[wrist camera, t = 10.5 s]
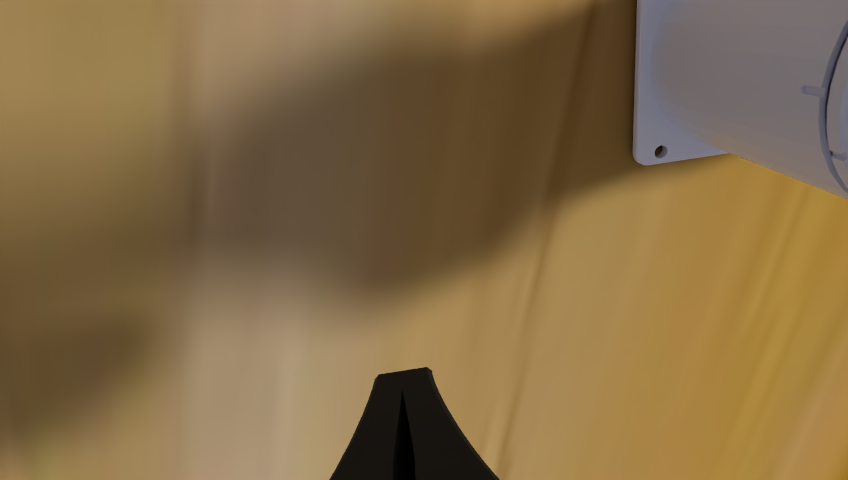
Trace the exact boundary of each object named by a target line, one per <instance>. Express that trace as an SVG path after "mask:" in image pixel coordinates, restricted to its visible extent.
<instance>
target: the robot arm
mask: <svg viewBox="0 0 848 480" xmlns="http://www.w3.org/2000/svg"><path fill="white" fill-rule="evenodd" d="M661 145H662V147H663V150H662V152H661V153H660V154H659V155H657V156H655V150H656V148H657V147H659V146H661ZM726 153H731V154H734V155H736V156H739V157H741V158H744V159H746V160H749V161H751V162H754V163H757V164H759V165H762V166H764V167H767V168H769V169H772V170H774V171H777V172H779V173H782V174H784V175H787V176H789V177H792V178H794V179H797V180H800V181H802V182H805V183H807V184H810V185H812V186H815V187H817V188H820V189H822V190H825V191H827V192H830V193H832V194H835V195H838V196H840V197H843V198H845V199H848V0H637V23H636V58H635V92H634V126H633V158H634V159H635V161H636V162H638V163H640V164H642V165H654V164H661V163H667V162H674V161H681V160H687V159H694V158H700V157H707V156H713V155H720V154H726ZM329 480H499V478H498V477H497V476H496V475H495V474H494V473H493V472H492V470H491V469H490V468H489V467H488V466H487V465H486V463H485V462H484V461H483V460H482V458H481V457H480V456H479V455H478V453H477V452H476V451H475V449H474V448H473V447H472V445H471V444H470V443H469V441H468V440H467V438H466V437H465V436H464V434H463V433H462V431H461V430H460V428H459V427H458V425H457V423H456V422H455V420H454V418H453V417H452V415H451V413H450V412H449V410H448V408H447V407H446V405H445V403H444V401H443V399H442V397H441V395H440V393H439V391H438V389H437V386H436V384H435V381H434V378H433V375H432V370H430V369H429V368H427V367H424V368H418V369H411V370H405V371H399V372H392V373H386V374H379V375H378V376H377V377H376V379H375V381H374V385H373V388H372V391H371V394H370V397H369V400H368V402H367V405H366V407H365V410H364V412H363V415H362V417H361V419H360V422H359V424H358V426H357V428H356V430H355V433H354V435H353V437H352V439H351V441H350V443H349V445H348V447H347V449H346V451H345V453H344V454H343V456H342V458H341V460H340V462H339V464H338V466H337V468H336V469H335V471H334V473H333V474H332V476H331V478H330V479H329Z"/></svg>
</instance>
